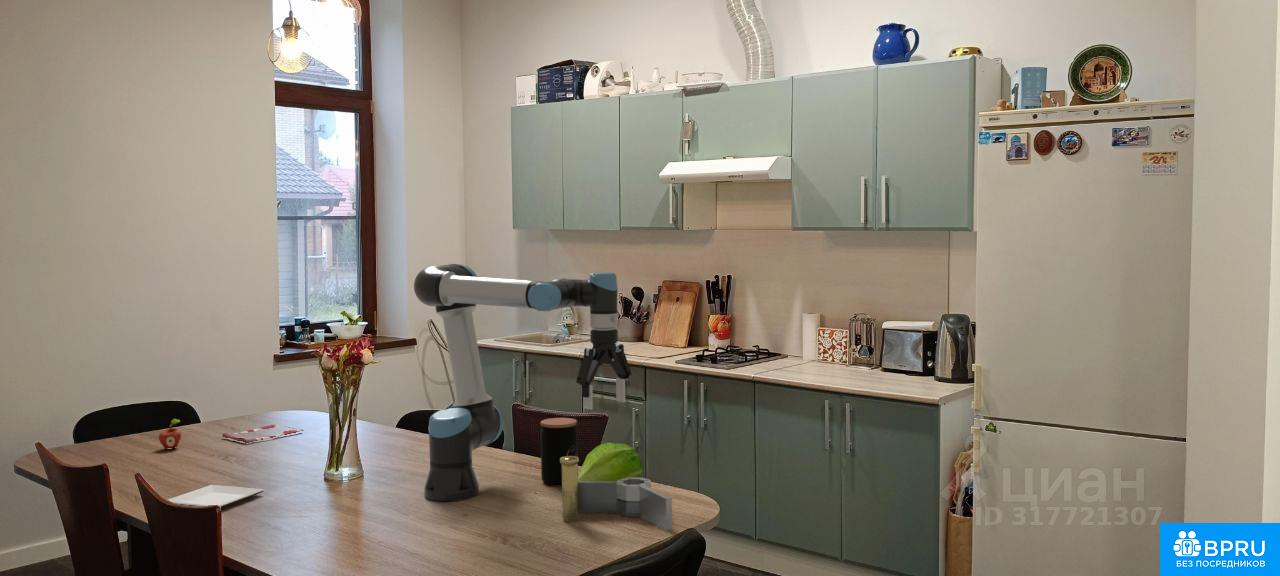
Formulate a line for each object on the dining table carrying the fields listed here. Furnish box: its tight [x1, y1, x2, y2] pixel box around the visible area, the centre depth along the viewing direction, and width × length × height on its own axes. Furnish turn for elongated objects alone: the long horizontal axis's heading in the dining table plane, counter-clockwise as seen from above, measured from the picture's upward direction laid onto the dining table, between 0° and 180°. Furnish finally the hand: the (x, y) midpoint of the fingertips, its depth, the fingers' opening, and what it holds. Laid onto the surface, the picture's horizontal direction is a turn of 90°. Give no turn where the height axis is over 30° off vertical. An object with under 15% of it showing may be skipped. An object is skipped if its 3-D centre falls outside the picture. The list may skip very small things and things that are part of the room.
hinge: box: [578, 477, 673, 532], centre depth 253 cm, size 28×21×8 cm
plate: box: [167, 484, 265, 509], centre depth 275 cm, size 19×19×2 cm
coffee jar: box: [540, 417, 579, 487], centre depth 290 cm, size 11×11×18 cm
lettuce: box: [578, 442, 644, 481], centre depth 277 cm, size 15×22×15 cm
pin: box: [560, 456, 580, 524], centre depth 252 cm, size 5×5×16 cm
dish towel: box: [222, 424, 305, 443], centre depth 361 cm, size 17×23×3 cm
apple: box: [158, 418, 182, 449], centre depth 342 cm, size 8×7×10 cm
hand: (604, 405), depth 274 cm, fingers open, 13 cm apart
